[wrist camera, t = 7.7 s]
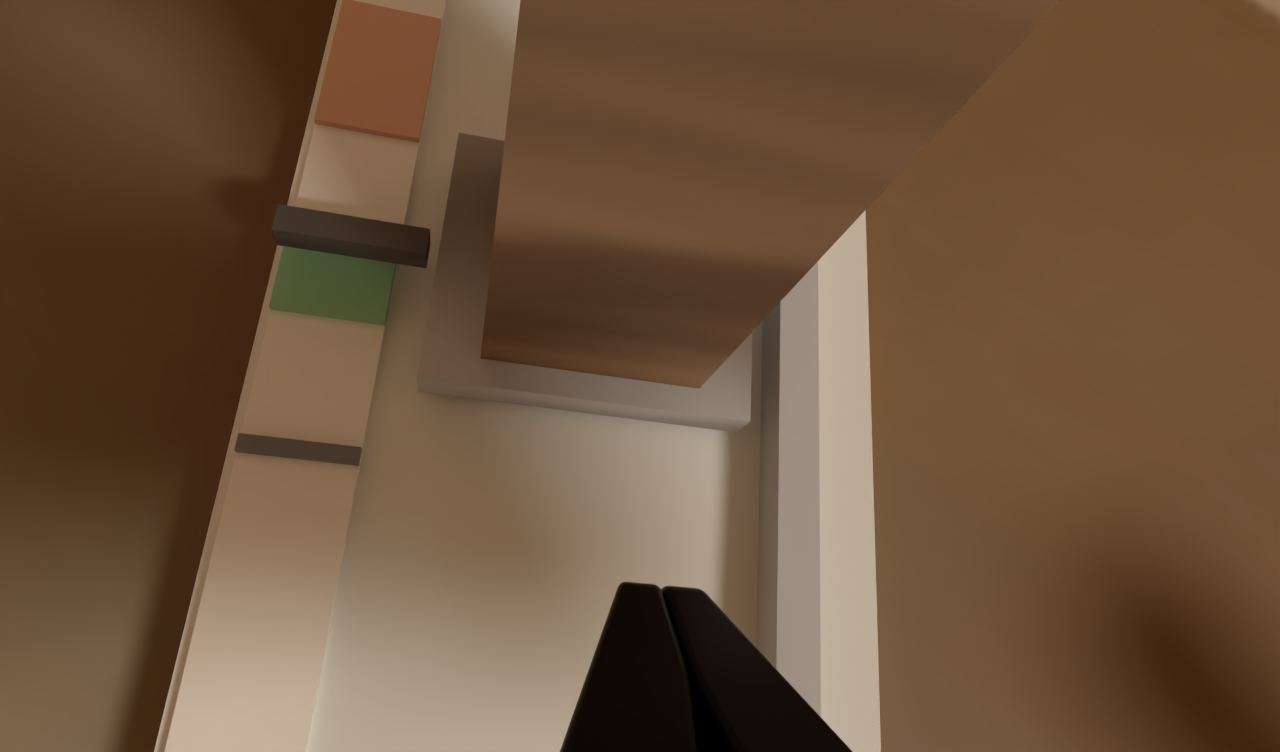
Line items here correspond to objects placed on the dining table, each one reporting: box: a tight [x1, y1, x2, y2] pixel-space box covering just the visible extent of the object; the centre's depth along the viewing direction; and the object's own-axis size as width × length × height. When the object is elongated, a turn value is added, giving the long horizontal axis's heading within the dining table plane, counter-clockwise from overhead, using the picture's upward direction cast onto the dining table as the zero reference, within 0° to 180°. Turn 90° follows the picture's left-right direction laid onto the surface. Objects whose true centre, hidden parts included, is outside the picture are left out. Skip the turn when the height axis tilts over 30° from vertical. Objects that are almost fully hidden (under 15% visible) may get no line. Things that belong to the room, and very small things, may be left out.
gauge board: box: [154, 0, 881, 752], centre depth 15 cm, size 24×12×7 cm, turn 176°
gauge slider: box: [271, 0, 1060, 432], centre depth 11 cm, size 5×9×11 cm, turn 86°
